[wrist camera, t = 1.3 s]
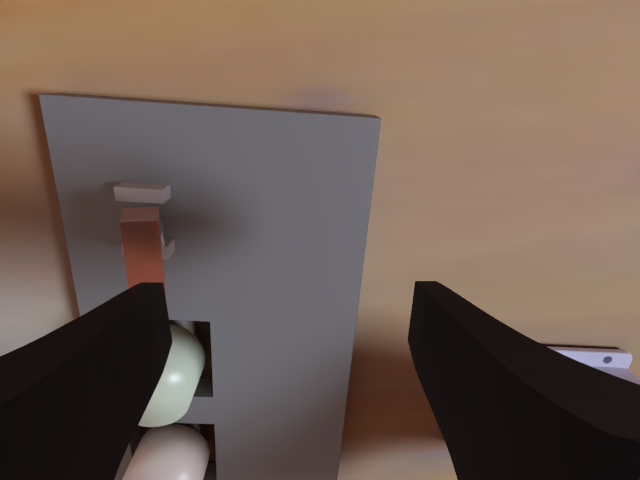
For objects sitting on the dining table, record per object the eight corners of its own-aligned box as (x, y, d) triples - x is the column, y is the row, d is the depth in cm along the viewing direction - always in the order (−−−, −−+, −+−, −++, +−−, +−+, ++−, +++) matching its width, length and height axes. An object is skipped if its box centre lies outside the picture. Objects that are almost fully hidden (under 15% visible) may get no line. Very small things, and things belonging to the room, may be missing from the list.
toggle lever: (160, 187, 17) (162, 220, 13) (165, 250, 18) (168, 297, 14) (124, 188, 17) (116, 222, 13) (132, 252, 18) (127, 302, 14)
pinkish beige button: (208, 425, 23) (195, 468, 20) (211, 474, 25) (199, 521, 22) (136, 422, 23) (114, 466, 20) (143, 473, 24) (123, 519, 22)
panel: (375, 115, 18) (385, 120, 16) (332, 481, 27) (335, 519, 25) (60, 93, 17) (21, 95, 15) (124, 475, 26) (106, 513, 24)
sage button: (203, 324, 20) (188, 359, 18) (207, 387, 22) (193, 428, 19) (122, 320, 20) (94, 355, 18) (131, 384, 22) (106, 425, 19)
